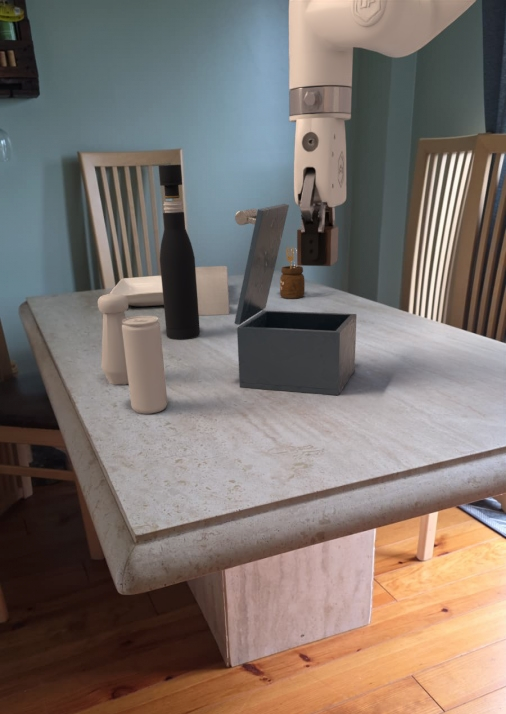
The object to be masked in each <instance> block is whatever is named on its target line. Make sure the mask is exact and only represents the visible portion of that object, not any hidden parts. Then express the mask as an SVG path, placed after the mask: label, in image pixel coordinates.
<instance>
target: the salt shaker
mask: <svg viewBox="0 0 506 714" xmlns="http://www.w3.org/2000/svg"><path fill="white" fill-rule="evenodd" d="M97 308H98V311H99V312H100V313H101V314H102V333H101V334H102V335H101V337H102V338H101V342H102V343H101V363H100V365H101V371H102V373H103V374H104V376H105V377H106V380H107V381H108V383H110V384H112V385H114V386H116V385H129V382H128V374H127V365H126V357H125V349H124V341H123V332H122V325H123V323H122V321H123V320H124V319H126V318H127V316H126V314H125V313H126V311H127V310H128V309H129V304H128V300H127V298H126V297H125V296H124V295H122V294H110V293H106V294H103V295H100V296H99V298H98V299H97Z"/></svg>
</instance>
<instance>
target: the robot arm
mask: <svg viewBox="0 0 506 714" xmlns="http://www.w3.org/2000/svg"><path fill="white" fill-rule="evenodd" d="M476 1H477V0H288V91H289V93H288V101H289V102H288V104H289V105H288V108H289V110H288V111H289V112H288V114H289V115H288V117H289V118H288V121H289V122H290V123H295V136H294V154H293V155H294V157H293V193H294V194H293V195H294V201H295V202H294V203H295V204H296V205H297V206H298V207H299V209H300V213H301V214H300V217H301V218H300V229H301V264H302V265H318V266H317V267H323V266H322V265H324V264H325V263H326V233H323V232H324V226H336V211H335V207H337V206H341V205H343V204H344V203H345V202H346V200H347V138H346V125H345V123H346V122H345V121H349V120H351V119H352V94H353V93H352V92H353V91H352V87H353V62H354V59H353V57H354V48H359V49H365V50H367V51H372V52H376V53H379V54H381V55H384V56H386V57H389V58H395V59H397V58H398V59H399V58H403V57H407V56H409V55H411V54H414V53H415V52H417V51H419V50H420V49H422V48H424V47H425V46H426V45H428V43H429V42H431V41H432V40H433V39H435V38H436V37H437V36H438V35H439V34H441V32H443V31H444V30H445V29H447V28H448V26H450V25H451V24H453V23H454V22H455V21H456V20H457V19H458V18H459V17H461V16H462V15H463V14H464V13H465V12H466V11H467V10H469V8H470V7H471V6H473V5H474V3H476Z"/></svg>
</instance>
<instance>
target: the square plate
mask: <svg viewBox="0 0 506 714" xmlns="http://www.w3.org/2000/svg"><path fill="white" fill-rule="evenodd" d="M109 294H122V295H124V296H125V297H126V298H127V300H128V306H133V307H153V306H155V307H156V306H164V301H163V290H162V279H161V275H150V276H149V275H148V276H137V277H124V278H121V279H120V280H119V281H118V282H117V284H116V285H115V286H114V287H113V288H112V290H111V291H110V292H109Z"/></svg>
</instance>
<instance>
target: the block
mask: <svg viewBox="0 0 506 714" xmlns="http://www.w3.org/2000/svg"><path fill="white" fill-rule="evenodd" d="M323 233H326V263H325V264H324V265H322V266H321V267H331V266H332V265H334V264H336V263H337V262H338V258H339V226H336V225H335V226H324V232H323ZM296 248H297V250H296V251H297V252H296V261H297V262H296V265H297V266H301V267H319V266H318V265H302V264H301V228H298V229H296Z"/></svg>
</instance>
